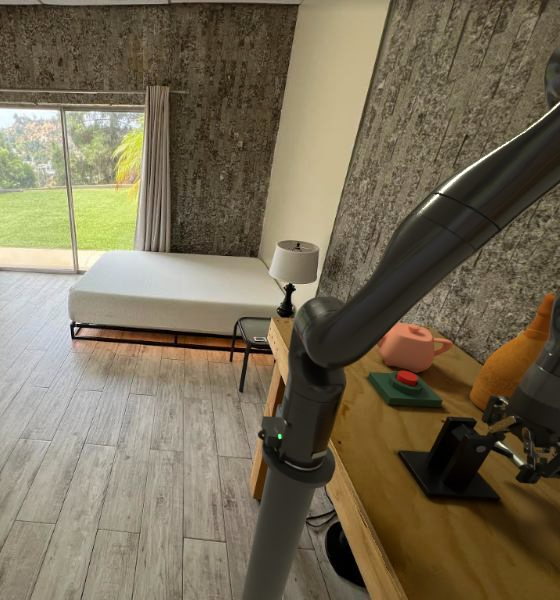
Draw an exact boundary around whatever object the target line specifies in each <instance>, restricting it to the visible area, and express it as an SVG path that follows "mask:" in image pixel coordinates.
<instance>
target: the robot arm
mask: <svg viewBox="0 0 560 600" xmlns="http://www.w3.org/2000/svg"><path fill="white" fill-rule="evenodd" d="M542 89H543V94H544V99H545V103H546V107H547V111H546V112H545V113H544V114H542V116H540V117H539V118H538V119H537V120H535V121H534V122H532V123H531V124H529V126H527V127H526V128H524V129H522V130H521V131H520V132H518V133H517V134H515V135H513V136H512V137H510V138H509V139H507V140H505V141H504V142H502V143H501V144H499V145H497V146H496V147H494V148H492V149H489V150H488V151H487V152H485V153H484V154H482V155H480V156H479V157H477V158H475V159H473V160H472V161H470V162H468V163H467V164H465V165H464V166H462V167H460V168H459V169H458V170H456V171H455V172H453V173H451V174H450V175H448V176H447V177H446V178H444V179H443V180H442V181H440V183H438V184H437V185H436V186H435V187H434V188H433V189H432V190H431V191H429V192H428V193H427V194H426V195H425V196H424V197H423V198H422V199H421V200H420V201H419V202H418V203H417V204H416V205H415V206H414V207H413V208H412V209H411V210H410V211H409V212H408V213H407V214H406V215H405V216H404V217H403V219H401V221H399V223H398V225H397V226H396V228H395V229H394V231H393V232H392V234H391V236H390V238H389V239H388V242H387V244H386V245H385V248H384V250H383V252H382V254H381V256H380V259H379V261H378V262H377V265H376V267H375V269H374V271H373V273H372V274H371V276H369V279H368V280H367V281H366V282H365V283H364V285H362V287H361V288H360V289H359V290H358V291H357V292H356V293H355V294H354V295H352V296H351V297H350V299H348V300H347V301H346V302H345V301H343V300H342V299H340V298H338V297H335V296H331V295H318V296H314V297H312V298H310V299H309V300H307V301H305V302H304V303H303V304H302V305H301V306H300V307H299V309H298V310H297V312H296V314H295V316H294V320H293V323H292V328H291V333H290V340H289V347H288V351H287V352H288V353H287V368H288V371H287V378H286V383H285V388H284V392H283V397H282V401H281V404H277V407H276V411H275V415H274V416H268V415H263V416H262V419H261V423H260V424H261V425H260V427H261V429H260V430H259V431H258V432H257V437H258V438H259V439H260V440H261V441H265V443H266V446H267V447H273V448H274V451H275V454H276V457H277V461H278V463H280V464H285V465H287V466H288V467H290V468H292V469H294V470H296V471H300V472H314V471H317V470H318V469H320V468H321V466H322V464H323V461H324V456H325V455H326V453H327V446H328V447H329V443H330V439H331V437H332V433H333V431H334V427H335V423H336V420H337V417H338V414H339V410H340V408H341V405H342V401H343V397H344V394H345V391H346V388H347V387H346V386H347V376H346V372H345V368H346V367H349V366H351V365H354V364H355V363H357V362H359V361H360V360H361V359H363V358H364V357H365V356H366V355H367V354H368V353H369V352H370V351H372V349H373V348H375V347H376V346H377V343H378V342H379V341H380V340H381V339H382V338H383V337H384V336H385V335H386V334H387V333H388V332H389V331H390V330H391V329H392V328H393V327H394V326H395V325H396V323H399V322H400V321H401V320H402V318H403V317H404V316H406V315H407V314H408V313H409V312H411V311H410V310H412V309H413V308H414V307H415V306H416V305H417V304H419V303H420V302H421V301H422V300H423V299H424V298H425V297H427V296H428V295H429V294H430V293H431V292H432V291H434V290H435V288H437V287H438V286H439V285H440V284H441V283H443V282H444V281H445V280H446V279H447V278H448V277H449V276H451V274H453V273H454V272H455V271H456V270H458V269H459V268H460V267H461V266H462V265H463V264H465V263H466V262H468V261H469V260H470V259H472V258H473V257H474V256H476V254H478V253H479V252H480V251H481V250H483V249H484V248H485V247H486V246H487V245H488V244H490V243H491V242H492V241H493V240H495V239H496V238H497V237H498V236H499V235H500V234H502V233H503V232H504V231H505V230H506V229H508V227H509V226H511V224H513V222H515V221H516V220H517V219H518V218H520V216H522V215H523V214H524V213H525V212H526V211H528V210H529V209H530V208H531V207H533V206H534V205H535V204H536V203H538V202H539V201H540V200H541V199H543V198H544V197H545V196H546V195H548V194H549V193H550V192H551V191H552V190H554V189H555V188H556V187H558V186H559V185H560V41H559V42H558V43H557V44H556V46H555V47H554V49H553V50H552V51H551V53H550V54H549V57H548V59H547V61H546V64H545V66H544V70H543V76H542ZM505 413H506V419H503V416H504V414H505ZM493 414H494V416H493ZM481 422H483V424H486V425H487V426H488V427H487V431H488V432H487V433H486V435H489V436H493V437H494V438H495V439H496V440H497V441H504V442H505V438H507V436H506V435H507V434H512V435H513V436H515V437H516V438H517V439H518V440H519V441H520V442H521V443H522V445H523V453H524V454H525V456H526V462H527V465H524V466H523V468H522V469H521V470H519V472H518V474H516V476H515V480H516V481H517V482H518V483H519V484H525V485H527V484H529V485H535V484H537V483H538V482H539V481H540V480H541V478H544V479H558V480H560V288H559V289H558V290H557V292H556V296H555V299H554V302H553V307H552V314H551V320H550V326H549V337H548V340H547V342H546V343H545V345H544V346H543V348H542V350H541V351H540V353H539V355H538V356H537V358H536V360H535V361H534V362H533V364H532V365H531V366H530V367H529V368H528V369H527V370H526V372H525V373H524V375H523V377H522V378H521V380H520V382H519V383H518V385H517V387H516V388H515V390H514V392H513V393H512V395H511V397H510V398H508V397H507V396H490V398H489V400H488V403H487V406H486V408H485V411H483V413H482V416H481ZM497 441H496V442H497ZM535 448H538V449H535ZM538 461H539V462H538Z"/></svg>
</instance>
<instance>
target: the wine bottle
mask: <svg viewBox="0 0 560 600" xmlns="http://www.w3.org/2000/svg"><path fill="white" fill-rule="evenodd" d="M556 294H557V292H555V293H553V292H551V293H548V294H546V295H545V296H544V297H543V301H542V302H541V304H540V305H539V306H538V307H537V310H536V313H537V315H536V316H535V318H534V319H533V321H532V322H531V323H530V324H529V325H528V327H527V328H526V329H525V330H520V332H519V333H518V334H517V336H516V337H514V338H513V339H511V340H509V341H508V342H506V343H504V344H503V345H502V346H500V347H498V349H496V350H495V351H494V352H492V353H491V355H489V357H488V358H487V359H486V361H485V362H484V364H483V366H482V368H481V370H480V371H479V373H478V376H477V377H476V379H475V381H474V384H473V386H472V388H471V390H470V394H469V399H470V401H471V402H472V403H473V405H475V406H476V407H477V409H479V410H481V411H483V412H484V411H485V408H486V406H487V403H488V400H489V398H490V396H507V397H508V398H510V397H511V395H512V393H513V392H514V390H515V388H516V387H517V385H518V383H519V382H520V380H521V378H522V377H523V375H524V373H525V372H526V370H527V369H528V368H529V367H530V366H531V365H532V364H533V362H534V361H535V360H536V358H537V356H538V355H539V353H540V351H541V350H542V348H543V346H544V345H545V343H546V342H547V340H548V337H549V326H550V320H551V314H552V307H553V302H554V299H555V296H556ZM493 416H494V414H493V415H492V417H493ZM504 419H506V413H505V414H504V416H503V419H502V420H504Z"/></svg>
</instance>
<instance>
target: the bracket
mask: <svg viewBox="0 0 560 600" xmlns="http://www.w3.org/2000/svg"><path fill="white" fill-rule="evenodd" d="M461 423H462V424H464V425H466V426H469V427H471V428H473V429H475V427H476V426H477V423H478V421H477V420H476V419H475V418H474V417H465V416H447V417H446V419H445V421H444V422H443V424H442V427H441V429H440V430H439V433H438V434H437V436H436V438H435V440H434V442H433V444H432V445H431V448H430V450H429V451H420V450H419V451H418V450H402V449H398V452H397V456H398V457H399V459H400V461H401V462H402V463H403V465H404V466H405V468H406V469H407V470H408V472H409V473H410V475H411V476H412V478H413V479H414V481H415V482H416V483H417V485H418V487H419V488H420V489H421V491H422V493H423V494H424V495H425V497H426V498H434V499H435V498H437V499H438V498H439V499H447V500H448V499H450V500H464V501H478V502H489V503H490V502H491V503H499V502H500V500H501V499H502V497H501V496H500V495H499V494H498V492H496V490H494V488H493V487H492V486H491V485H490V484H489V483H488V482H487V480H485V478H484V477H483V476H482V475H481V474H480V473H479V470H480V468H481V467H482V466H483V464H484V463H485V461H486V459H487V457H488V456H489V455H490V453H491V451H492V450H491V449H492V448H493V446H494V445H495V443H496V441H497V440H496V439H495V438H494V437H493V436H489V435H487V434H480V435H472V434H465V435H464V436H463V438H462V440H461V442H460V441H459V440H458V439H457V438H456V437H455V435H454V434H453V433H452V432H451V431H452V430H454V429H455V428H456V427H458V426H459V425H460V424H461Z"/></svg>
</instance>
